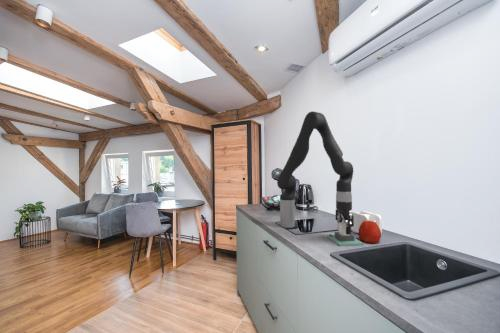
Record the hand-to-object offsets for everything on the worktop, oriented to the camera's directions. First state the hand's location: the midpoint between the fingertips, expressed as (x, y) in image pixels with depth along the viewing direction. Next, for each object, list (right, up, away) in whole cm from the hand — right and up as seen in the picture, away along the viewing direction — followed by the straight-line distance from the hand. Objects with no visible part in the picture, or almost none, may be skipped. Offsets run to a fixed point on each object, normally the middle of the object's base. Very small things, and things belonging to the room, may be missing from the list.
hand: (344, 231), depth 113 cm
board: (0, -5, 0) cm, 5 cm away
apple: (+13, -5, -1) cm, 14 cm away
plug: (0, -4, 0) cm, 4 cm away
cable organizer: (+17, -5, +13) cm, 22 cm away
